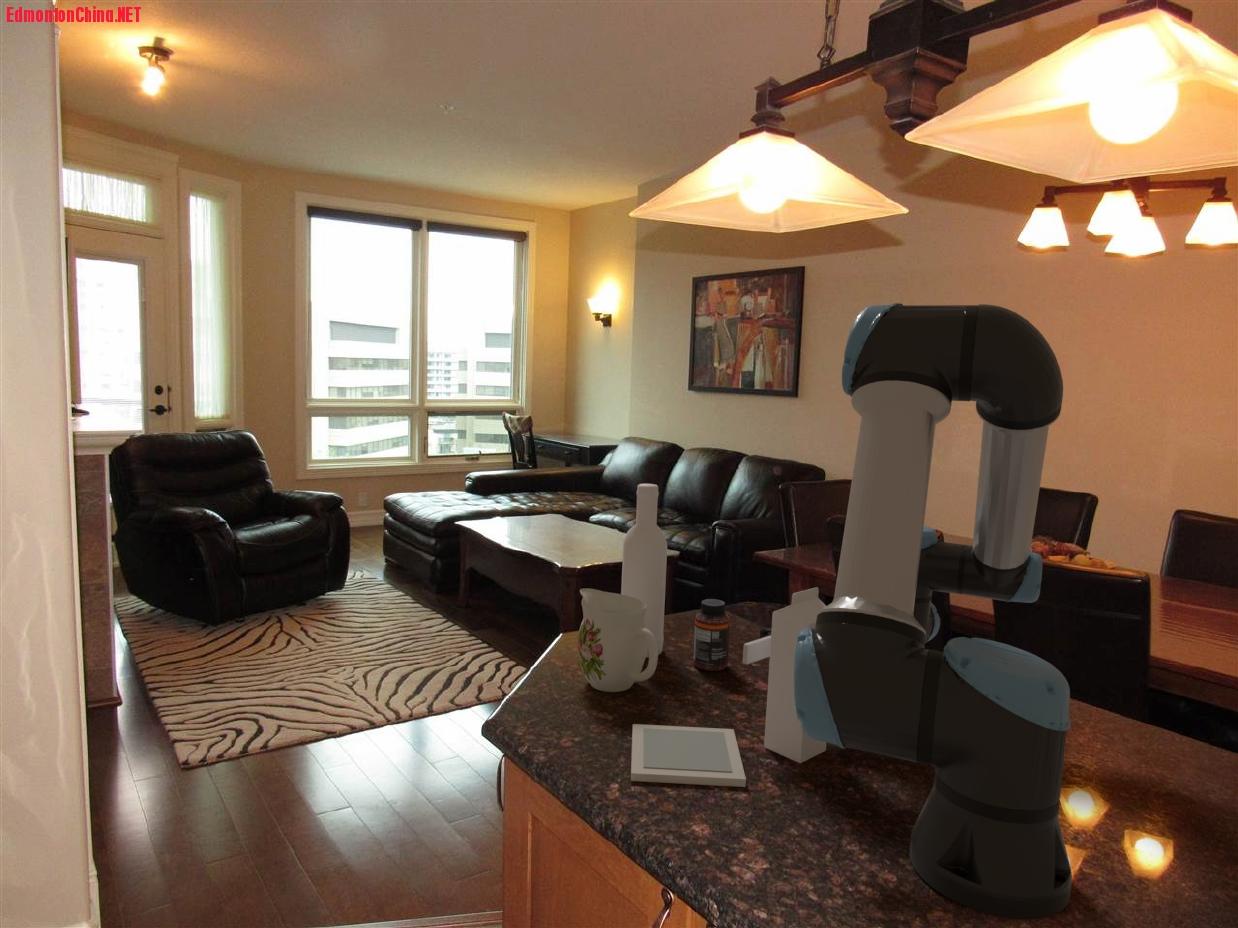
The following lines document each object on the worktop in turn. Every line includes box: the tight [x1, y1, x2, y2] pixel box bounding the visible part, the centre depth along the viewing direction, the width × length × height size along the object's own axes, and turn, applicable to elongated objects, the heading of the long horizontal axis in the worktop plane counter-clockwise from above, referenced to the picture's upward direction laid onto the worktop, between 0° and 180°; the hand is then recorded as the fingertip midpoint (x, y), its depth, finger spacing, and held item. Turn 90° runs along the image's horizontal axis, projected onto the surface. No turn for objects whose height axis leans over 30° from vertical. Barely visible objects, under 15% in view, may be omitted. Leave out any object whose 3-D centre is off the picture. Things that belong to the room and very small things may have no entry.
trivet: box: [630, 723, 747, 788], centre depth 107 cm, size 14×14×1 cm
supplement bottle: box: [692, 598, 731, 672], centre depth 140 cm, size 6×6×11 cm
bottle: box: [620, 483, 668, 659], centre depth 146 cm, size 8×8×30 cm
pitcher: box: [577, 587, 659, 693], centre depth 130 cm, size 11×18×14 cm, turn 41°
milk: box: [763, 586, 827, 764], centre depth 110 cm, size 6×6×22 cm
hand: (786, 668), depth 107 cm, fingers open, 13 cm apart
